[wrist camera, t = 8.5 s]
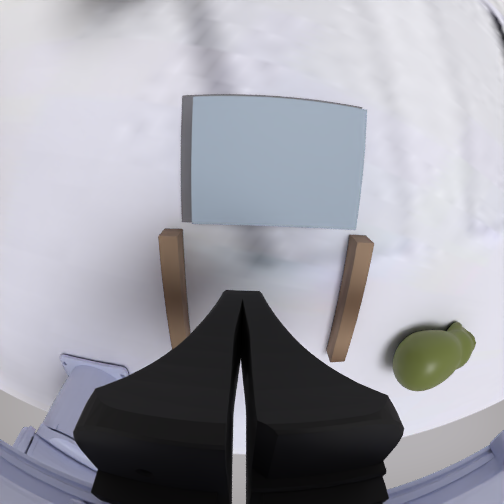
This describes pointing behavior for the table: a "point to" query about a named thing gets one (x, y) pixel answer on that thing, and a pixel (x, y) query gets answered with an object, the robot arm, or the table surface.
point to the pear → (431, 356)
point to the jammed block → (276, 162)
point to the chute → (345, 309)
